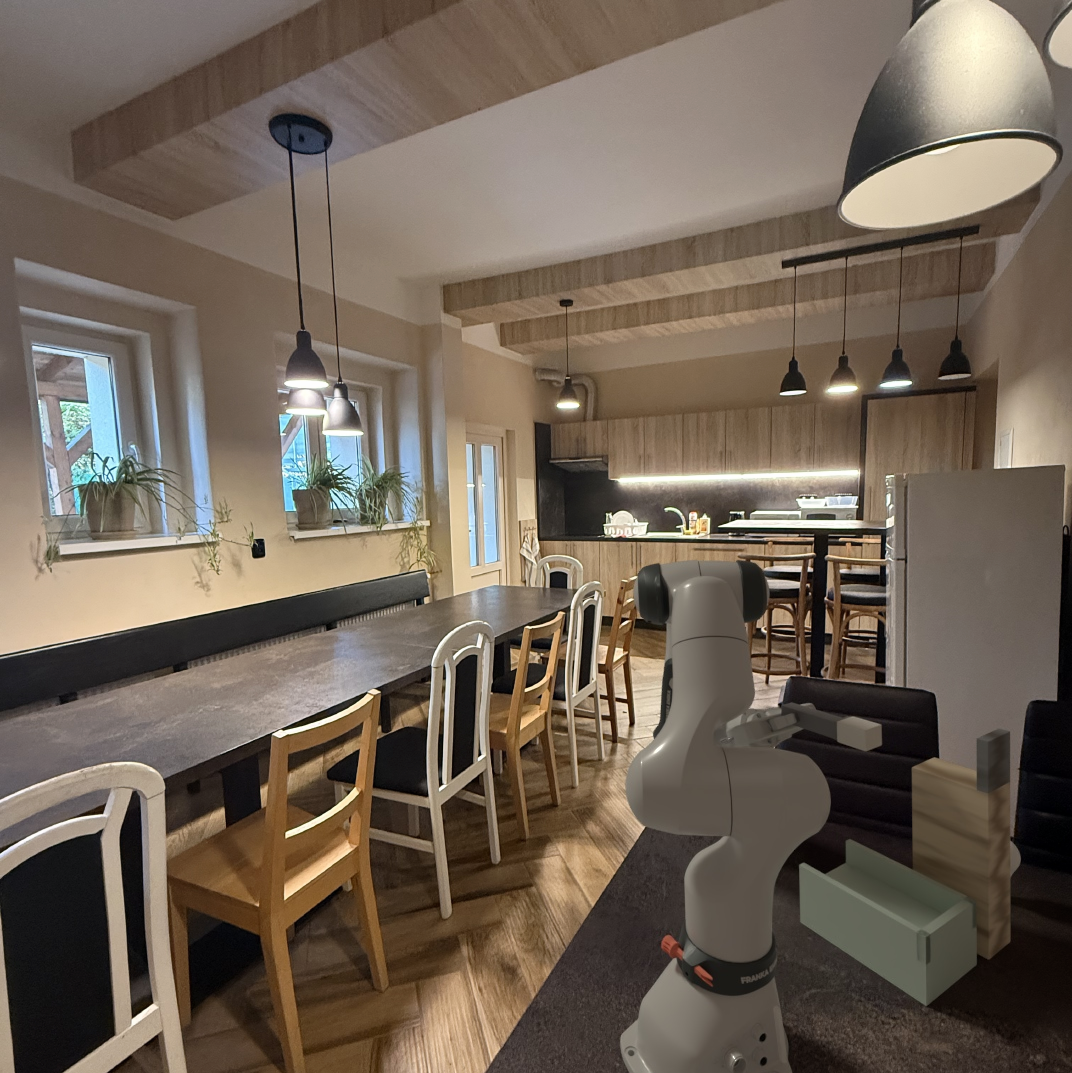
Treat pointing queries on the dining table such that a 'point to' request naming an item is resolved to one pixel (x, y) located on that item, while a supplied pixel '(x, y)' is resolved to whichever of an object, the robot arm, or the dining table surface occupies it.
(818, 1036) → the dining table surface
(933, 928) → the bin
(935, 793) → the stand
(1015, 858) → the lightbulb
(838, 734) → the grey square bar
